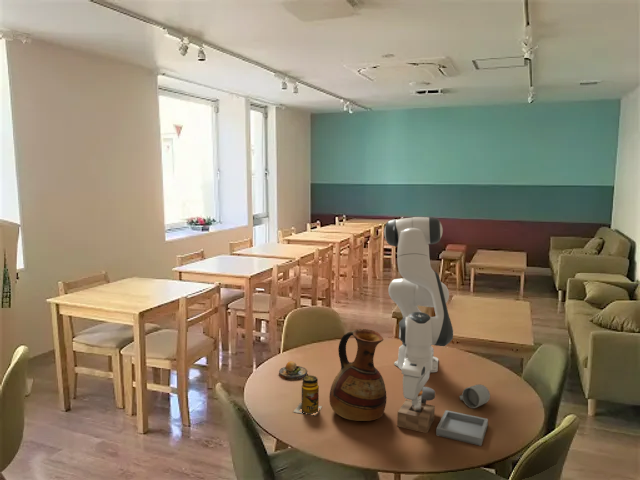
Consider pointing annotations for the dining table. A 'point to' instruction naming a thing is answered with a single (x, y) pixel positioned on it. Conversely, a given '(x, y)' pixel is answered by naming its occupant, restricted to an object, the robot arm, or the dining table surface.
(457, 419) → the tray
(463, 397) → the ceramic mug
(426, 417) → the block
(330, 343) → the dining table surface
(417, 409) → the pin
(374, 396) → the ceramic pitcher
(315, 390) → the condiment
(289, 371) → the burger
